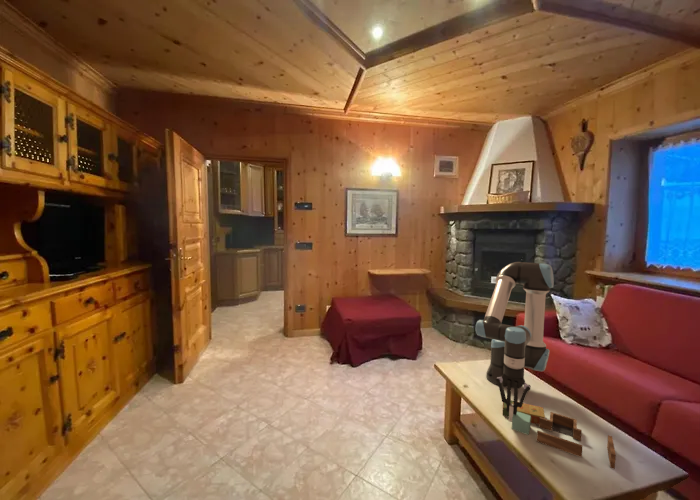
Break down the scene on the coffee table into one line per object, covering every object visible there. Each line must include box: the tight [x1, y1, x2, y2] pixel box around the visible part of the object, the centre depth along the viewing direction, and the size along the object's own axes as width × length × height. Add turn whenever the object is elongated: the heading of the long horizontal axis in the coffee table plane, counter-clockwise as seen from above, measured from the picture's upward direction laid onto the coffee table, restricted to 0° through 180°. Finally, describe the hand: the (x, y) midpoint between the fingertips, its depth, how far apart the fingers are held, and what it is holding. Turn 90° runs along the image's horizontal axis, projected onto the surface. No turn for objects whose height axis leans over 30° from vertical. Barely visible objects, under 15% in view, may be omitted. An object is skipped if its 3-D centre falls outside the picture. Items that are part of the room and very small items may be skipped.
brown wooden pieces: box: [536, 411, 617, 470], centre depth 120 cm, size 19×23×5 cm
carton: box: [502, 399, 546, 425], centre depth 136 cm, size 8×16×4 cm, turn 62°
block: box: [511, 412, 531, 435], centre depth 128 cm, size 6×6×5 cm
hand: (511, 420), depth 130 cm, fingers closed
